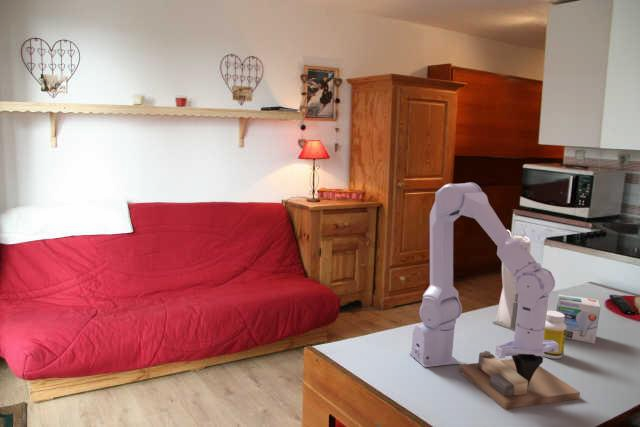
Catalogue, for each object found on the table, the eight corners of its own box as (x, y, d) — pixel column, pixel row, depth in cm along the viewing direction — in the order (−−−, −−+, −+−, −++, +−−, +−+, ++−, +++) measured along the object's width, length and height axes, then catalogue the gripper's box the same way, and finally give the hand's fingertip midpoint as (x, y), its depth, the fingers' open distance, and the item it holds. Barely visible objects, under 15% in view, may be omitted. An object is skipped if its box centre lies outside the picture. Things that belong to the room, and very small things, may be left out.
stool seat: (504, 409, 105) (506, 391, 104) (459, 370, 121) (460, 355, 120) (579, 398, 110) (581, 381, 110) (526, 363, 126) (527, 348, 126)
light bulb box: (553, 336, 144) (558, 300, 143) (552, 328, 151) (557, 293, 149) (596, 344, 140) (601, 306, 139) (593, 335, 147) (598, 299, 145)
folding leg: (475, 364, 120) (476, 349, 120) (487, 363, 121) (489, 348, 121) (513, 395, 107) (515, 378, 106) (527, 393, 108) (529, 377, 107)
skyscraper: (488, 321, 153) (497, 230, 149) (502, 316, 159) (512, 227, 154) (514, 330, 147) (525, 235, 142) (528, 324, 152) (539, 232, 148)
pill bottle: (566, 360, 129) (571, 319, 127) (540, 358, 130) (545, 316, 128) (559, 350, 135) (564, 310, 133) (534, 347, 136) (539, 308, 134)
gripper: (513, 335, 102) (506, 398, 104) (572, 330, 107) (564, 390, 109) (492, 322, 109) (485, 381, 111) (548, 317, 113) (540, 374, 115)
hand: (522, 385), depth 110 cm, fingers closed
